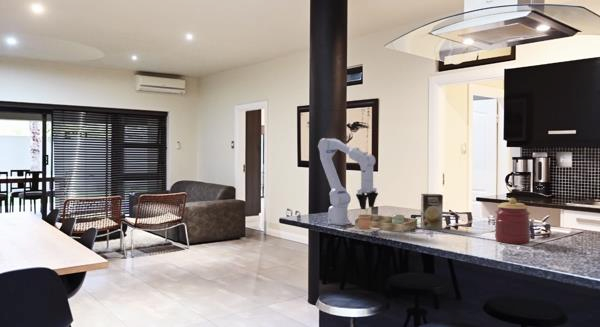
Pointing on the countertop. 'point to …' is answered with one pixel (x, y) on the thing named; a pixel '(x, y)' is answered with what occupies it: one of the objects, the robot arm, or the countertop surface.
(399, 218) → the sage pot
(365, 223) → the terracotta pot
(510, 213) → the canister
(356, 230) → the ceramic tile
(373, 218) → the compartment tray
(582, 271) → the countertop surface
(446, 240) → the countertop surface
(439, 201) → the coffee box
